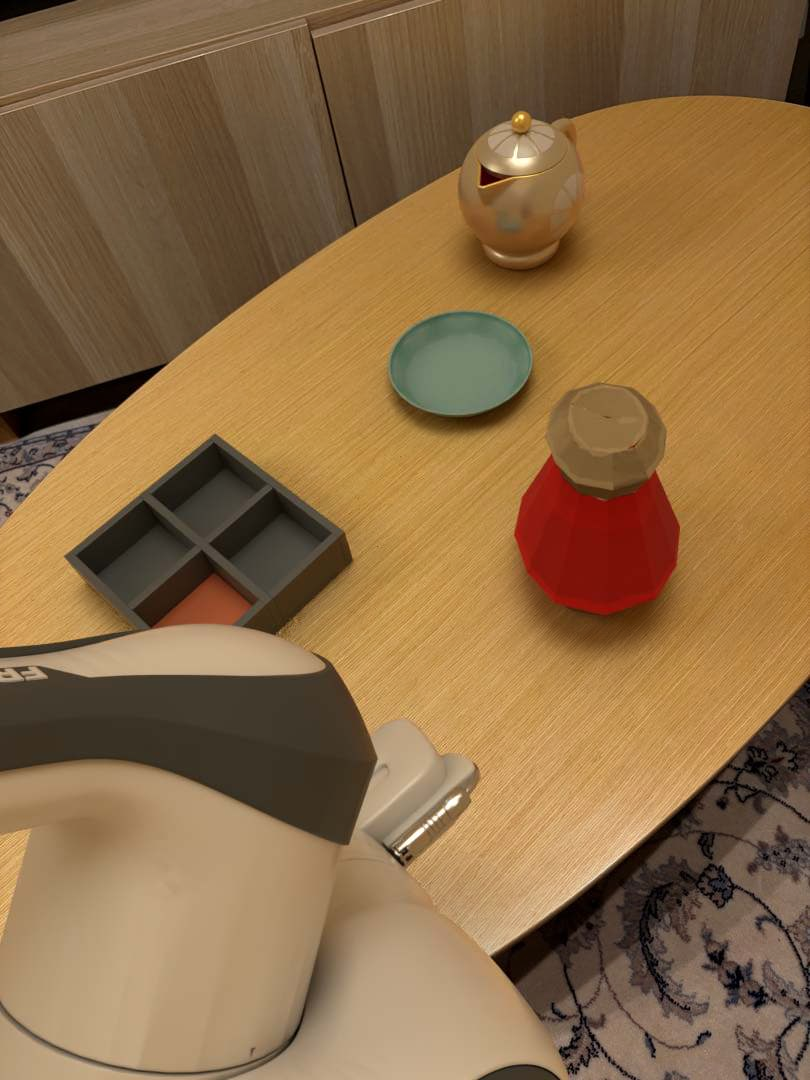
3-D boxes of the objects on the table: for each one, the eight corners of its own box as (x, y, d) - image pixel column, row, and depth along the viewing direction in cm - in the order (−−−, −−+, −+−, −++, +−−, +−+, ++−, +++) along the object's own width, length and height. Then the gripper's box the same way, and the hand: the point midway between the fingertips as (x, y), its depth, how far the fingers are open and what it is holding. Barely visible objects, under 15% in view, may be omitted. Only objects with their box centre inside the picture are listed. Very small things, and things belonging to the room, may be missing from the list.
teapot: (534, 307, 94) (537, 173, 81) (435, 264, 100) (422, 132, 86) (620, 215, 101) (636, 77, 87) (522, 180, 107) (523, 45, 93)
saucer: (561, 366, 89) (562, 347, 87) (470, 456, 84) (468, 438, 82) (452, 308, 96) (451, 289, 94) (362, 389, 91) (358, 371, 89)
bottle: (683, 645, 71) (734, 507, 55) (518, 650, 73) (518, 517, 56) (657, 491, 80) (693, 330, 63) (510, 498, 81) (507, 342, 64)
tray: (205, 700, 73) (187, 677, 69) (85, 582, 81) (63, 556, 77) (353, 560, 79) (344, 531, 75) (228, 463, 87) (214, 432, 83)
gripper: (460, 725, 40) (360, 671, 53) (80, 1059, 34) (70, 908, 47) (527, 823, 42) (414, 748, 55) (175, 1158, 36) (141, 986, 49)
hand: (253, 824), depth 51 cm, fingers closed on navy bottle, 6 cm apart
